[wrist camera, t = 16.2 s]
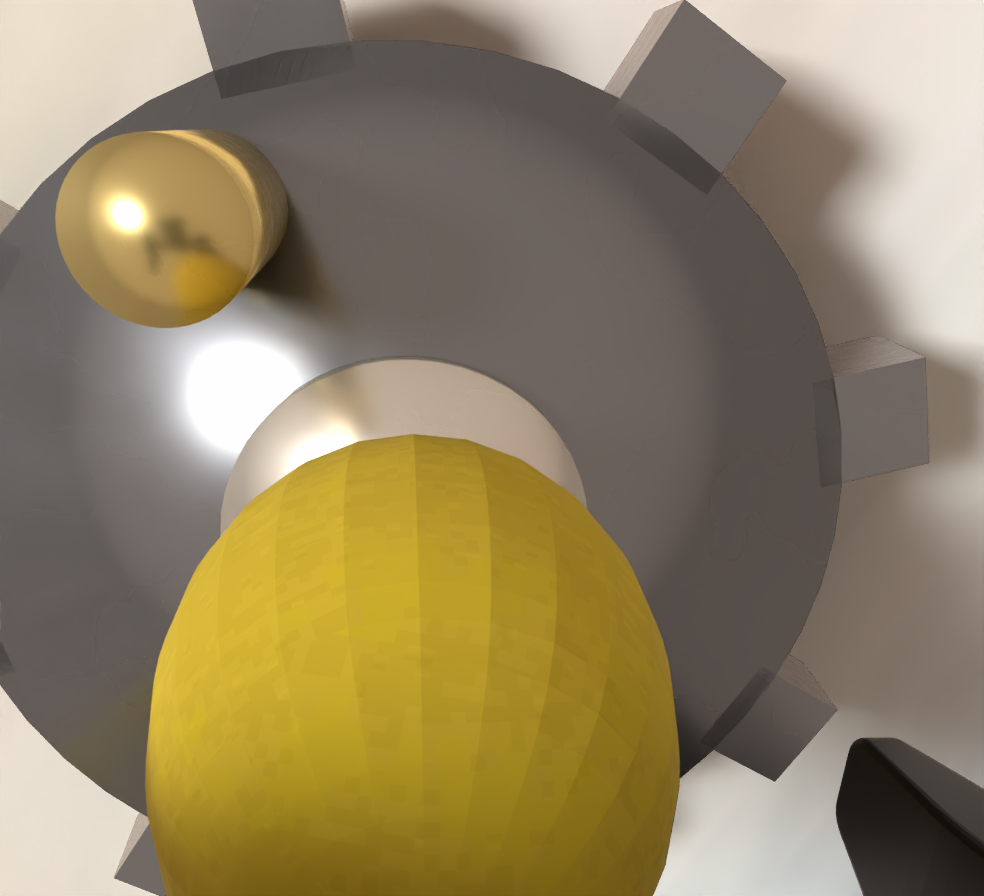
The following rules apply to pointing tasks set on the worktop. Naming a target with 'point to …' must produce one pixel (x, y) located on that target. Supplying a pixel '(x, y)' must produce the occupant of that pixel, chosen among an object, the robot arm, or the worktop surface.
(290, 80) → the sprocket
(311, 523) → the lemon
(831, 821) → the worktop surface
